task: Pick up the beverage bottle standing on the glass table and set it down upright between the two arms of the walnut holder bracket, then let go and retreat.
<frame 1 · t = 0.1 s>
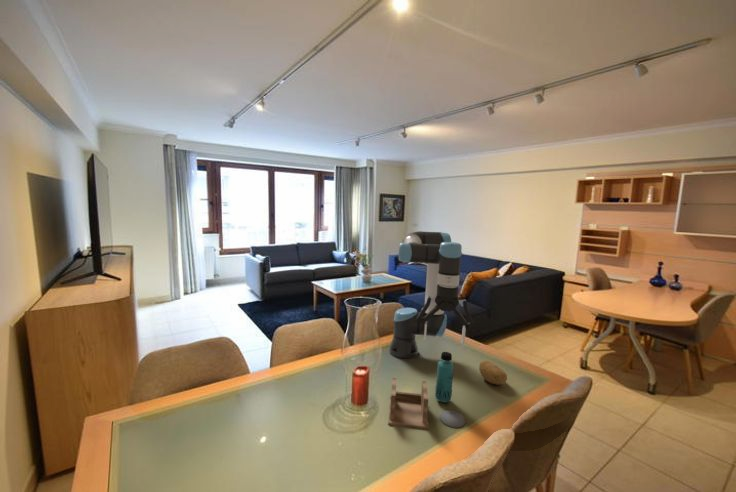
hand: (443, 342, 117), 28 cm above the table, fingers open, 13 cm apart
potato: (492, 382, 144), on the table
holder: (407, 412, 120), on the table
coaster: (451, 419, 117), on the table
beverage bottle: (442, 401, 128), on the table
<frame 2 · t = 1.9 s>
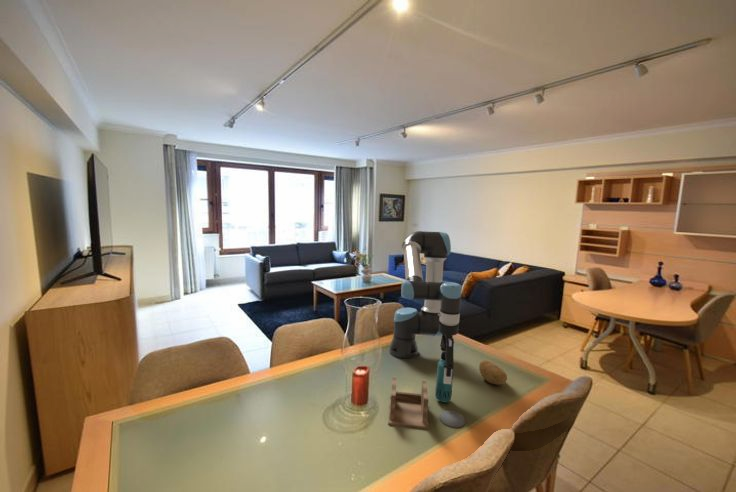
hand: (445, 374, 127), 11 cm above the table, fingers open, 13 cm apart
nothing on the table moved.
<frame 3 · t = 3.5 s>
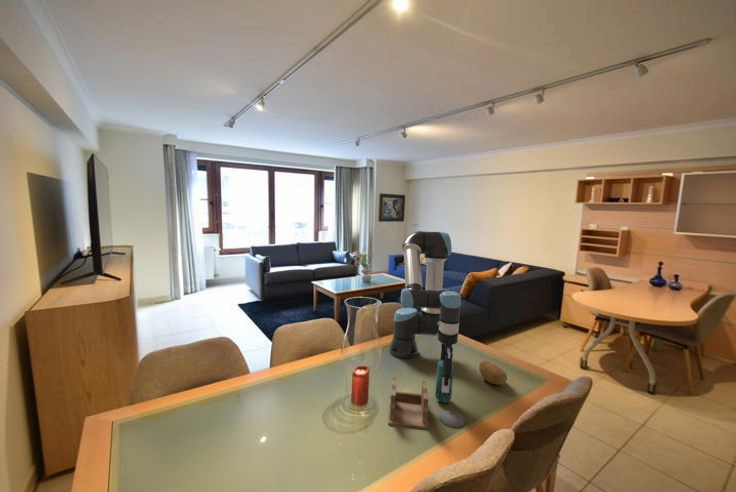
hand: (443, 386, 128), 6 cm above the table, fingers closed on beverage bottle, 6 cm apart
beverage bottle: (442, 401, 128), on the table, touching gripper
everything else where it was.
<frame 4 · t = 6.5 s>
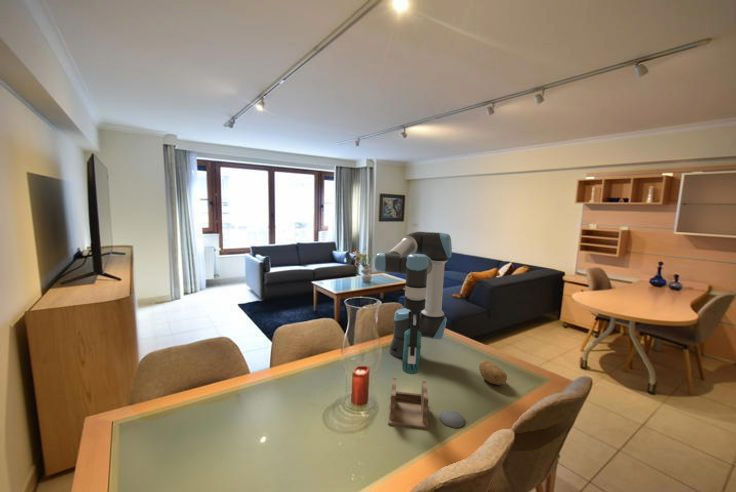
hand: (411, 358, 117), 21 cm above the table, fingers closed on beverage bottle, 6 cm apart
beverage bottle: (410, 374, 118), point 15 cm above the table, touching gripper
everything else where it was.
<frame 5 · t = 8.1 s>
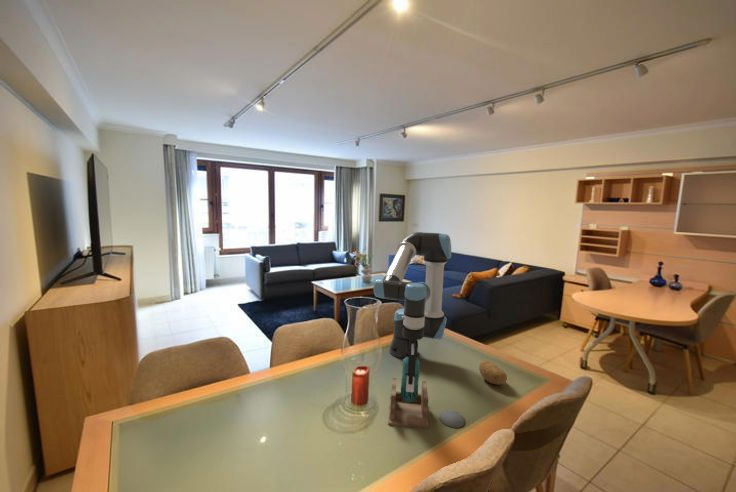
hand: (409, 385, 119), 11 cm above the table, fingers closed on beverage bottle, 6 cm apart
beverage bottle: (408, 401, 119), point 5 cm above the table, touching gripper
everything else where it was.
when the fingers open (8 cm above the table, at t = 9.5 s): beverage bottle drops 1 cm, resting on holder.
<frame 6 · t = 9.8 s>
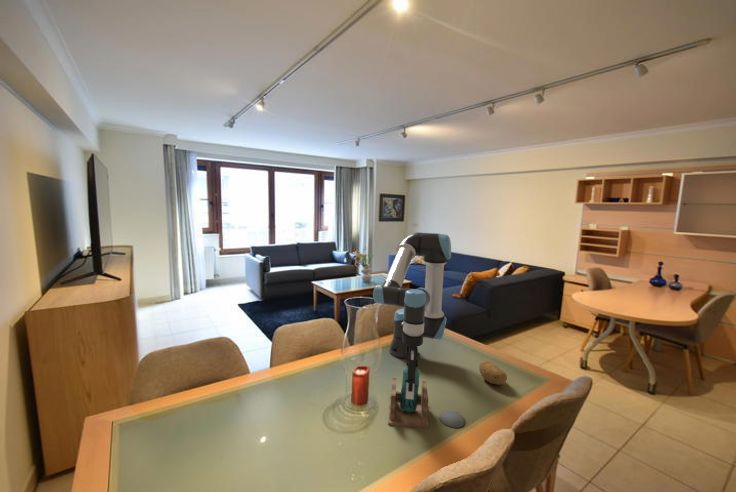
hand: (409, 389, 119), 9 cm above the table, fingers open, 11 cm apart
beverage bottle: (408, 411, 120), point 1 cm above the table, touching holder
everything else where it was.
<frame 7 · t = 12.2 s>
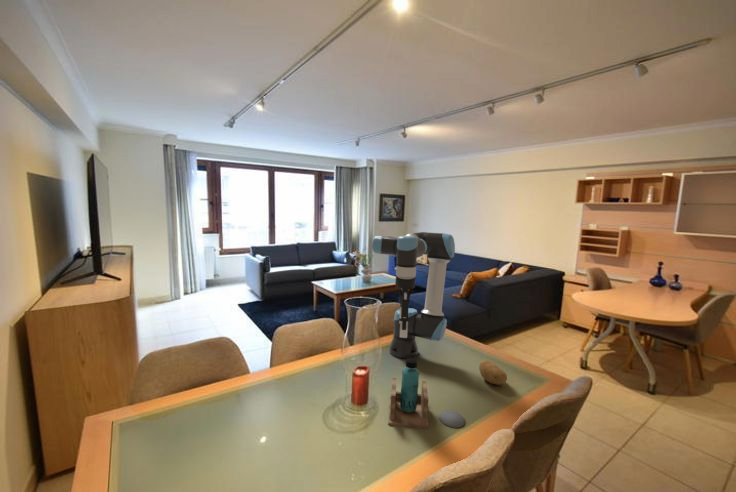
hand: (402, 330, 125), 29 cm above the table, fingers open, 13 cm apart
nothing on the table moved.
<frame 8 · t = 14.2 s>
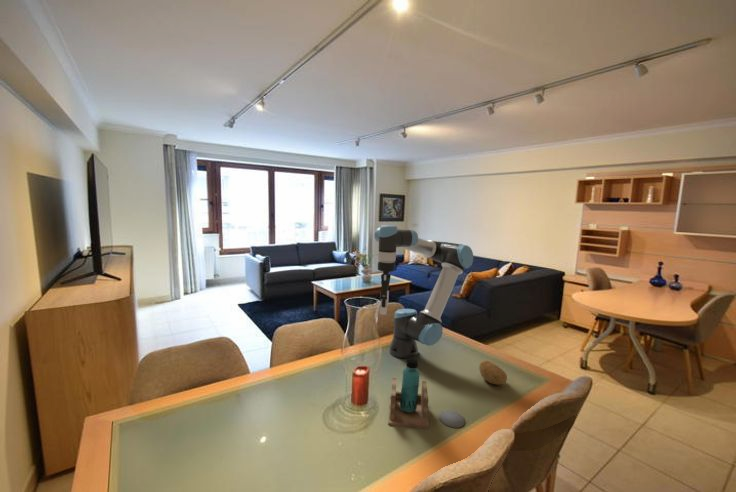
hand: (384, 309, 140), 32 cm above the table, fingers open, 13 cm apart
nothing on the table moved.
at the end: beverage bottle inside the target area on the holder (0.1 cm from its centre), point 0.7 cm above the holder's base; beverage bottle tilted 1°; the gripper is holding nothing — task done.
